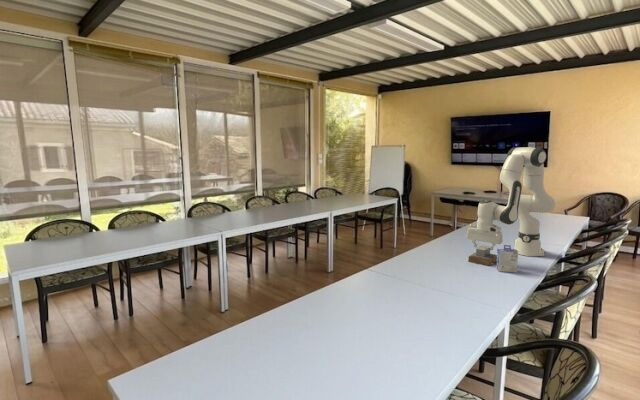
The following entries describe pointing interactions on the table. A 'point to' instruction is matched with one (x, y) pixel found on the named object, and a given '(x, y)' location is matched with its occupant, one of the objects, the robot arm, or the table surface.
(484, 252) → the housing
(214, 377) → the table surface
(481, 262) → the wooden tray
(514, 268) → the ink cartridge box
